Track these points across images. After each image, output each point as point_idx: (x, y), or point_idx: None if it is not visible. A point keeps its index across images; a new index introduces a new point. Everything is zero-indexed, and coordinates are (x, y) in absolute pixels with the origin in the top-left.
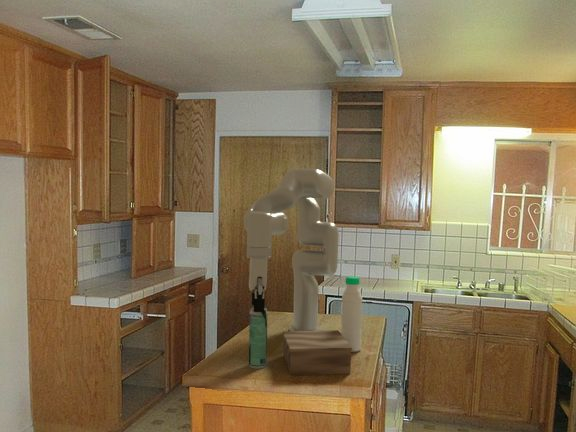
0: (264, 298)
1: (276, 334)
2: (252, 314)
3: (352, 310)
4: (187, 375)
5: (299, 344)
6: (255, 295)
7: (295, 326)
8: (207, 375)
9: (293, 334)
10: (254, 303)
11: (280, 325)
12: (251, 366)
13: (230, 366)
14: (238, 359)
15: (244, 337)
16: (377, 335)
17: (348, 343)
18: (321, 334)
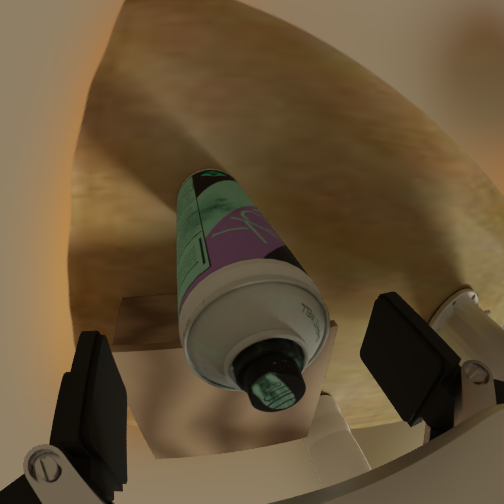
0: (116, 490)
1: (456, 259)
2: (197, 285)
3: (325, 487)
4: None
5: (163, 378)
6: (30, 484)
7: (459, 308)
8: (122, 30)
9: None
10: (70, 396)
11: (492, 267)
12: (187, 178)
13: (208, 100)
14: (283, 131)
15: (462, 175)
16: (371, 424)
17: (187, 456)
18: (276, 417)
